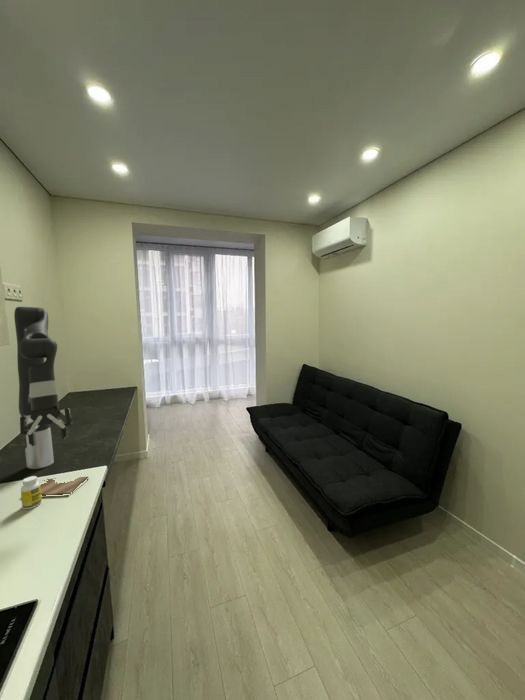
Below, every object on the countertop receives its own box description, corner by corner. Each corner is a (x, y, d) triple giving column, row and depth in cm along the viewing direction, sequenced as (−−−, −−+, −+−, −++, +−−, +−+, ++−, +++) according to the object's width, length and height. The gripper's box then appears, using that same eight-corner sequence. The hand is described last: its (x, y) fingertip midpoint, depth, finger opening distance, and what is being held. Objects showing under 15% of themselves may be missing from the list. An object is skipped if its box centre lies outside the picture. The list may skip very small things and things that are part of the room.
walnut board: (21, 498, 108) (21, 495, 108) (45, 481, 120) (44, 479, 120) (69, 495, 108) (69, 492, 108) (88, 479, 120) (88, 476, 120)
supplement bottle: (33, 509, 100) (30, 482, 100) (18, 510, 100) (15, 483, 100) (45, 500, 106) (43, 474, 105) (31, 501, 106) (28, 475, 105)
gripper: (70, 391, 106) (75, 435, 105) (22, 398, 101) (27, 445, 100) (65, 391, 100) (71, 438, 99) (14, 399, 94) (19, 449, 93)
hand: (49, 442), depth 99 cm, fingers open, 8 cm apart
